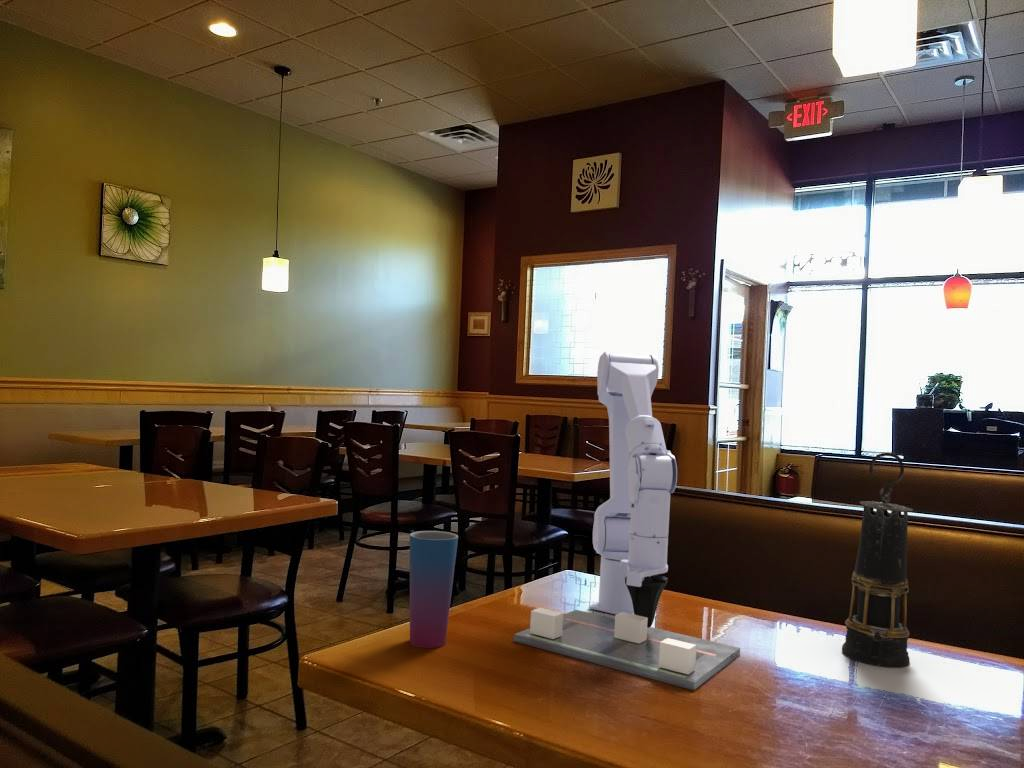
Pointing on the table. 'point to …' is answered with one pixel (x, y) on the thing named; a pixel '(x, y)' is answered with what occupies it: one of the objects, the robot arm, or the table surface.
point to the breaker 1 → (546, 623)
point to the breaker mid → (630, 627)
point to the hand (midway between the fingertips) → (644, 625)
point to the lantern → (880, 583)
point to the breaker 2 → (677, 656)
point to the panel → (630, 649)
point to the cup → (431, 586)
